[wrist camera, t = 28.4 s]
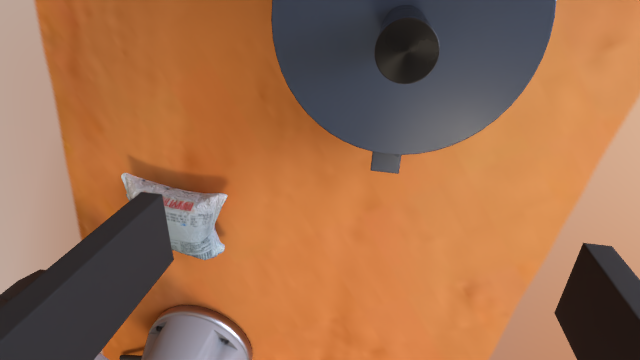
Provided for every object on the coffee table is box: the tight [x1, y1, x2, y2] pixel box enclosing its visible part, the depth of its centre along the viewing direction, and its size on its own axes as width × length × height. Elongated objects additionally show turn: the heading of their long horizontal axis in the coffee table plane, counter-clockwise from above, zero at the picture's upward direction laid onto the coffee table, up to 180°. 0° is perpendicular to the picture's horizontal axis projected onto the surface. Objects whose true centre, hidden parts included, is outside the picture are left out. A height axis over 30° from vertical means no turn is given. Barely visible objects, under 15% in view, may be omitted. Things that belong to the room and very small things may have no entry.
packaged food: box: [121, 173, 228, 260], centre depth 45 cm, size 9×12×5 cm
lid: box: [272, 0, 556, 155], centre depth 23 cm, size 19×19×11 cm
